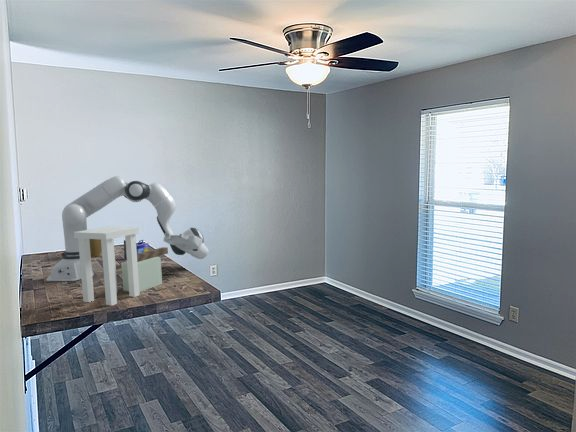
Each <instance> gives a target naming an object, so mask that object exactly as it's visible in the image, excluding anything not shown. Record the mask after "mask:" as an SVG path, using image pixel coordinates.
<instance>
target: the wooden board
mask: <svg viewBox="0 0 576 432" xmlns="http://www.w3.org/2000/svg"><path fill="white" fill-rule="evenodd" d="M167 254H169V250H168V247H163V246H162V247H159V248H155V249H151V250H149V251H147V252H143V253H139V254H137V262H140V261H143V260H147V259H150V258H154V257H161V256H163V255H164V256H165V255H167Z"/></svg>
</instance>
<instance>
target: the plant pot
mask: <svg viewBox="0 0 576 432" xmlns="http://www.w3.org/2000/svg"><path fill="white" fill-rule="evenodd" d="M89 241H90V253H91V258H96V257H95V256H98V257H100V256H101V255H102V246H101V239H89Z"/></svg>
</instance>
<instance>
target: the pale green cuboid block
mask: <svg viewBox="0 0 576 432" xmlns="http://www.w3.org/2000/svg"><path fill="white" fill-rule="evenodd" d="M120 264H121V277H122V289H123V290H122V291H123V292H129V283H128V269H127V261H124V262H121V263H120ZM137 264H138V278H139V292H140V293H141V292H144V291H147V290H149V289H151V288H155V287H157V286H160V285H162V284H163V276H162V275H163V272H162V260H161V256H157V257H154V258H150V259H147V260H143V261H140V262H137Z"/></svg>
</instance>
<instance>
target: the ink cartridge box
mask: <svg viewBox="0 0 576 432" xmlns="http://www.w3.org/2000/svg"><path fill="white" fill-rule="evenodd" d="M149 249H150V247H149V242H144V239H142V240H138V243H136V250H137V254H139V253H143V252H147V251H150V250H149Z"/></svg>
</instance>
